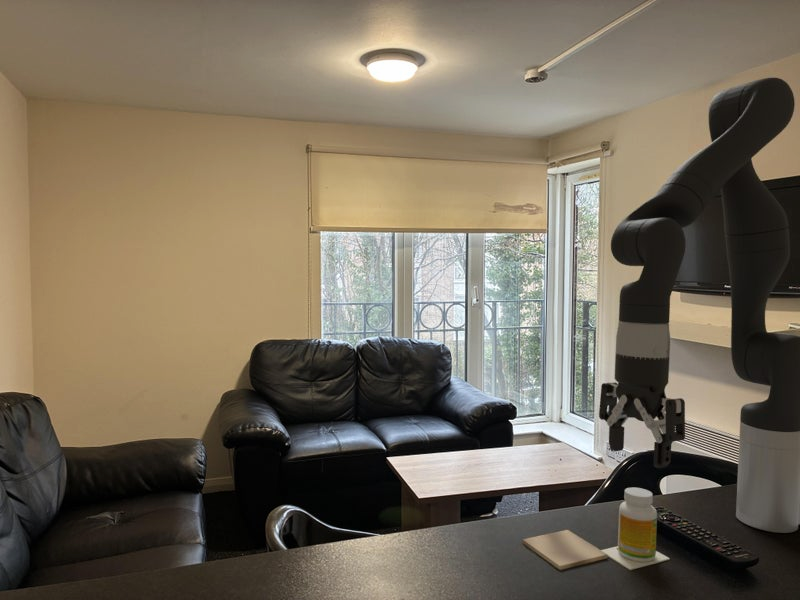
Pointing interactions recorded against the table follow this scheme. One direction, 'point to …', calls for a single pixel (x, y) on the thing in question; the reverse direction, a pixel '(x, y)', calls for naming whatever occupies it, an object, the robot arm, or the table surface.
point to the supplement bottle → (637, 525)
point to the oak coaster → (564, 549)
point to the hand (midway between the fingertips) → (637, 458)
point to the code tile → (631, 564)
